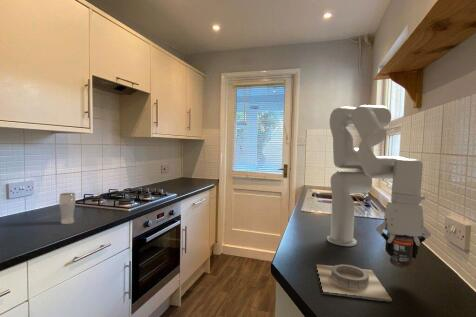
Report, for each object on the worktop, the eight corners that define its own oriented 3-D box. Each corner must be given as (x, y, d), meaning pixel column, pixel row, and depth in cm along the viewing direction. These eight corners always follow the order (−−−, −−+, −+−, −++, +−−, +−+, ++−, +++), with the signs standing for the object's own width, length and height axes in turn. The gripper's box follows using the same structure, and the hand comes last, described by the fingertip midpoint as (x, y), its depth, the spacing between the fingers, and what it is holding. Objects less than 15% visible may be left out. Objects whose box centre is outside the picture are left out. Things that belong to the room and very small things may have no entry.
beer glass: (73, 223, 137) (73, 194, 136) (57, 225, 134) (57, 195, 134) (76, 220, 143) (76, 192, 143) (61, 221, 141) (61, 192, 140)
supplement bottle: (403, 260, 87) (406, 226, 87) (416, 269, 81) (419, 232, 81) (385, 260, 87) (387, 225, 86) (396, 268, 81) (399, 232, 80)
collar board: (316, 267, 94) (316, 257, 94) (371, 272, 91) (371, 262, 91) (322, 294, 76) (323, 282, 76) (391, 302, 73) (392, 290, 73)
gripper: (430, 198, 85) (425, 253, 86) (371, 194, 88) (367, 247, 89) (443, 203, 78) (438, 263, 79) (379, 199, 81) (375, 257, 82)
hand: (400, 254), depth 84 cm, fingers closed on supplement bottle, 5 cm apart
